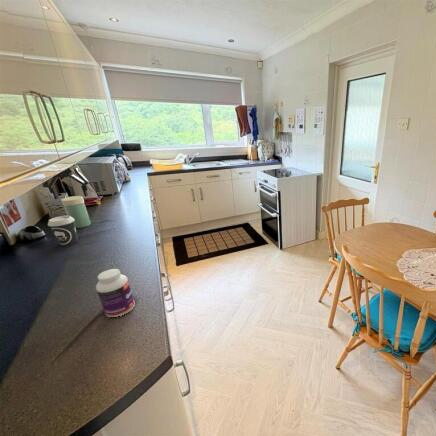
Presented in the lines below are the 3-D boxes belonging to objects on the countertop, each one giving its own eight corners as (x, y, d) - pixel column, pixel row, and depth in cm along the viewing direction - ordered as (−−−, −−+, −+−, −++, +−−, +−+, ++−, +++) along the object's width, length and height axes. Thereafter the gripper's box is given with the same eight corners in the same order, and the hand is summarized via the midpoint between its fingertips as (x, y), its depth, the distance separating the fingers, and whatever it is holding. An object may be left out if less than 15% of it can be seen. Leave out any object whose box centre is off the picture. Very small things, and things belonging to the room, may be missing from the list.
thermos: (67, 228, 137) (57, 201, 130) (79, 222, 145) (70, 197, 139) (83, 228, 137) (74, 201, 131) (94, 222, 145) (86, 197, 139)
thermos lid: (58, 205, 131) (56, 200, 130) (72, 200, 140) (70, 196, 139) (75, 205, 132) (73, 200, 130) (88, 200, 140) (86, 195, 139)
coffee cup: (84, 245, 117) (74, 218, 112) (59, 252, 111) (47, 223, 105) (81, 239, 123) (71, 213, 118) (56, 246, 116) (45, 218, 111)
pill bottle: (136, 312, 76) (125, 275, 70) (106, 323, 71) (91, 285, 66) (134, 298, 82) (124, 263, 76) (106, 307, 77) (93, 271, 72)
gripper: (23, 162, 119) (40, 201, 127) (83, 159, 128) (96, 196, 136) (31, 160, 125) (47, 198, 133) (88, 158, 134) (100, 193, 142)
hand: (72, 197), depth 134 cm, fingers open, 13 cm apart
